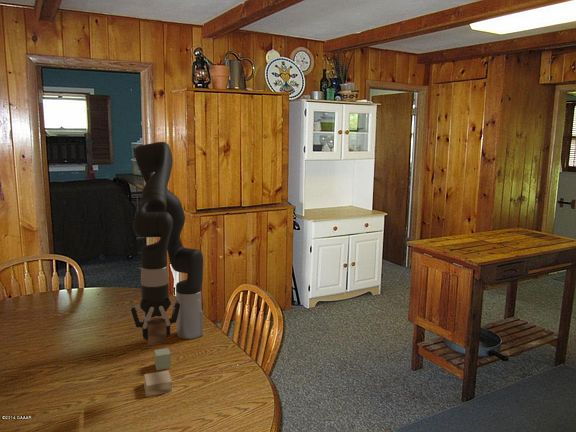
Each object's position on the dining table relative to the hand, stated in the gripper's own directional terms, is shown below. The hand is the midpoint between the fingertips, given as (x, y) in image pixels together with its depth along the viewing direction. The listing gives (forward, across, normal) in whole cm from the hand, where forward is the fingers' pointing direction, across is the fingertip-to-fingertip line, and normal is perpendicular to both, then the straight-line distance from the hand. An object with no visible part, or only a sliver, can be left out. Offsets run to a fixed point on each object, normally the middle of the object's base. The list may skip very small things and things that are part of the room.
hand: (156, 338), depth 140 cm
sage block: (+16, -3, -13) cm, 21 cm away
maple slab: (+15, 0, 0) cm, 15 cm away
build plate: (+16, 0, 0) cm, 16 cm away
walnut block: (+1, 0, 0) cm, 1 cm away
